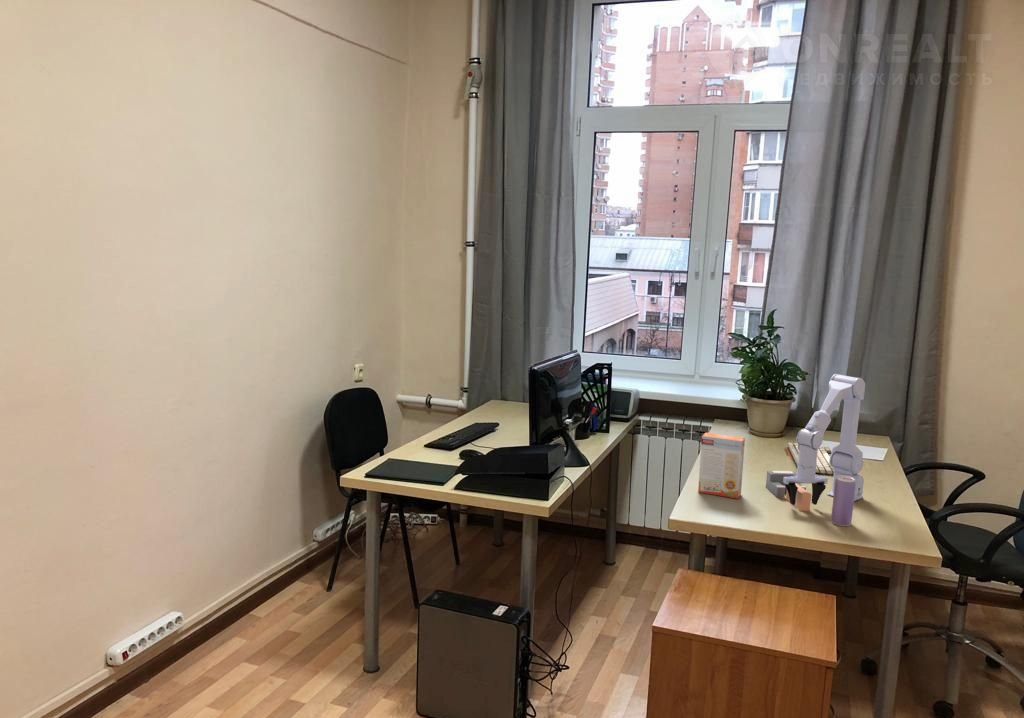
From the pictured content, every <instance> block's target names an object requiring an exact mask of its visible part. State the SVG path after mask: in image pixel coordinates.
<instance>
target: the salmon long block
mask: <svg viewBox="0 0 1024 718" xmlns="http://www.w3.org/2000/svg"><path fill="white" fill-rule="evenodd" d="M795 485H796V486H797V487H798V490H797V493H796V500H795V505H793V506H794V507H795V508H796V509H798V510H799V511H801V512H810V511H811V503H812V492H811V493H810V492H809V491H808V490H807V489H806V490H805V489H803V488H802V487H801V486H799V485H798V484H796V483H795ZM785 496H786V497H785V499H786V501H788V502H789V503H790V499H789V494H788V491H786V495H785Z"/></svg>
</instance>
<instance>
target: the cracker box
mask: <svg viewBox="0 0 1024 718" xmlns="http://www.w3.org/2000/svg"><path fill="white" fill-rule="evenodd" d="M745 441H746V437H743V436H742V437H741V436H736V435H735V436H733V435H728V434H726V435H725V434H719V433H713V432H705V433H703V435H701V442H700V443H701V445H700V458H699V473H698V489H697V492H698V493H700V494H701V493H702V494H708V495H713V496H719V497H720V496H721V497H726V498H731V499H739V497H740V496H741V495H742V485H743V471H744V459H745V458H744V457H745V445H746V444H745V443H746V442H745Z"/></svg>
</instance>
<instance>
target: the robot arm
mask: <svg viewBox="0 0 1024 718" xmlns="http://www.w3.org/2000/svg"><path fill="white" fill-rule="evenodd" d="M865 391H866V382H865V381H864V379H863V378H862V377H854V376H849V375H843V374H840V373H839V374H838V373H834V374H833V375H831V378H830V379H829V382H828V394H827V395H826V397H825V400H824V401H823V403H822V406H821V407H820V409H819V410H817V411H814V413H813V415H811V418H810V419H809V421H808V423H807V424H806V425H805V427H804V428H802V429H800V430H799V431H798V432H797V434H796V437H795V439H796V440H795V441H796V442H795V443H797V444H798V450H799V456H798V467H796V473H797V475H795V476H789V477H784V478H783V483H785V486H786V488H787V491H788V494H789V499H790V502H789V504H791V505H792V506H794V505H795V500H796V493H797V490H798V487H797V486H796V485H795V483H800V484H811V504H813V505H814V506H816V505H817V504H818V501H819V499H820V497H821V495H822V493H823V492H824V491H825V490H826V488H827V486H826V485H828V481H829V478H827V477H826V476H822V475H815V473H816V462H817V452H818V448H819V447H820V446H821V445H823V441H824V437H825V434H824V433H825V432H826V430H827V428H828V427H829V425H830V424H831V422H832V419H831V415H832V414H833V412H834V411H835V410H836V408H837V407H838V406H839V404H840V403H841V402H842V400H843V408H842V409H843V410H842V419H841V429H840V436H839V443H838V444H836V445H834V446H833V447H832V448H831V452H832V453H831V455H830V459H829V462H830V465H831V467H832V470H834V475H833V477H832V485H831V486H832V487H831V491H829V492H827V493H826V495H828V496H832V497H834V487H835V479H836V476H840V475H843V476H850V477H853V478H854V479H855V482H856V485H855V494H854V502H855V501H858V500H860V499H862V498H864V496H863V493H864V492H863V491H864V483H865V482H864V480H865V479H864V477H863V475H860V474H859V473H860V472H861V471H862V470H863V467H864V459H863V454H864V453H863V451H862V450H861V449H860V448H859V447H858V446H857V444H856V443H857V436H858V435H857V434H858V427H859V421H860V420H859V419H860V412H861V410H860V409H861V402H862V401H863V400H865V399H864V398H865ZM787 491H786V492H787Z"/></svg>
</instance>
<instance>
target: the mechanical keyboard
mask: <svg viewBox="0 0 1024 718" xmlns="http://www.w3.org/2000/svg"><path fill="white" fill-rule="evenodd" d="M829 446H830V445H823V444H821V446H820V447H819V448H818V452H817V462H816V473H815V474H817V475H816V476H830V475H833V476H834V470H832V467H831V465H830V462H829V459H830V456H829V455H828V454H831V453H832V448H831V447H829ZM783 450H784V452H785V455H786V456H787V457H788V458H789V459H790V460H791V461H792V462H793V463H794V466H795V468H797V467H798V456H799V450H798V444H797V442H788V443H787V446H785V447H783ZM825 474H827V475H825Z"/></svg>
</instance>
